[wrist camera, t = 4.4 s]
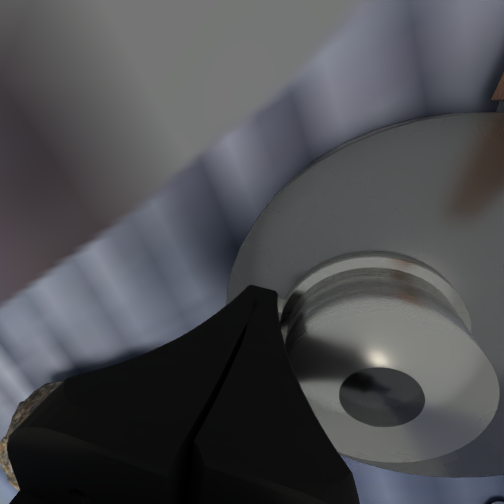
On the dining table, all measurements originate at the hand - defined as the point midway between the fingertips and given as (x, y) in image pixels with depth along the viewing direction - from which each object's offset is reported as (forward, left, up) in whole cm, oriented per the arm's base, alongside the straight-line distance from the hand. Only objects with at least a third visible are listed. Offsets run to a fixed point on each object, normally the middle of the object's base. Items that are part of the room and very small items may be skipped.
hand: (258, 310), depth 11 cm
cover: (-4, 0, -1) cm, 4 cm away
